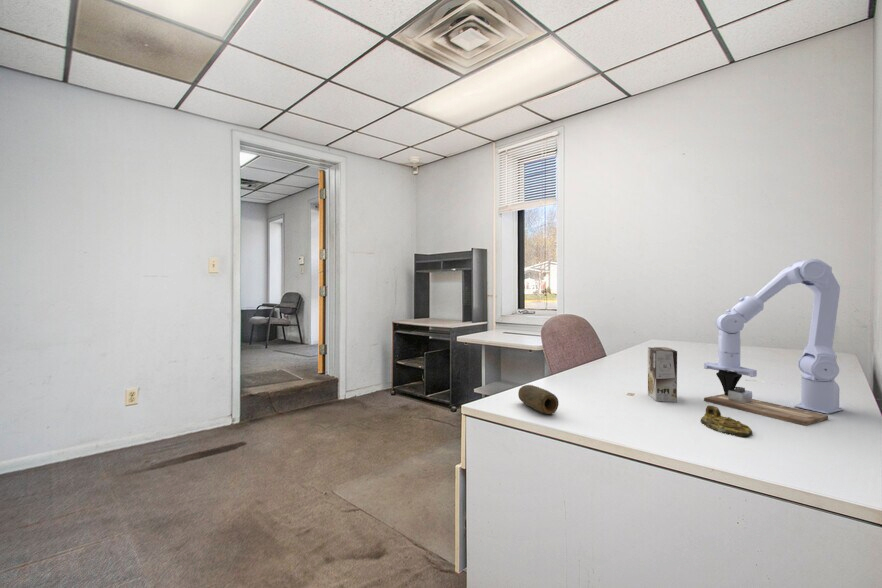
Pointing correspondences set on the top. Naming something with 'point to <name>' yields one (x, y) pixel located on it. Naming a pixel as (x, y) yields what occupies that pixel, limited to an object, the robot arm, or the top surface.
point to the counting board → (770, 410)
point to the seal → (724, 423)
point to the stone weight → (538, 399)
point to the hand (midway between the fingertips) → (728, 395)
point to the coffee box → (662, 374)
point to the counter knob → (740, 395)
